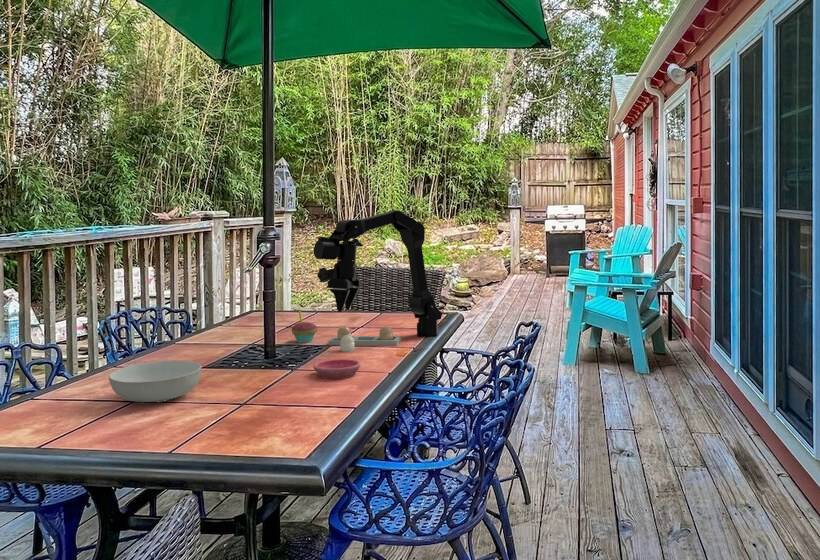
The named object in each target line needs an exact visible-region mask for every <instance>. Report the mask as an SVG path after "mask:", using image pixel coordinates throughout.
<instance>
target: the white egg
mask: <svg viewBox="0 0 820 560" xmlns="http://www.w3.org/2000/svg"><path fill="white" fill-rule="evenodd" d="M352 336H353V335H351V336H350V335H345V336H343V337H342V338H341V340H340V345H339V346H340V352H343V353H350V352H354V351H355V350H356V347H355V346H356V345H355V342H354V339H353V337H352Z"/></svg>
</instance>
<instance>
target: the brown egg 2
mask: <svg viewBox="0 0 820 560" xmlns="http://www.w3.org/2000/svg"><path fill="white" fill-rule="evenodd" d="M378 332H379V333H378V334H379V335H378V336H379V338H380V340H393V336H394V331H393V329H392V328H391V327H390V326H387V325H385V326H383V327H381V328H380V329H379V331H378Z"/></svg>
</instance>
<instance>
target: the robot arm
mask: <svg viewBox="0 0 820 560" xmlns="http://www.w3.org/2000/svg"><path fill="white" fill-rule="evenodd" d="M388 225H392V227H393V228H394V230H396V231H397V232H399V235H400V238H401V242H402V243H403V245H404V246H405V248H406V251H407V256H408V263H409V270H410V277H411V282H412V283H411V284H412V289H413V290H412V293H411V295H408V297H407V301H408V304H409V305H408V308H410V311H411V312H412V313H413V315H414V318H415V319H418V321H417V323H416V336H417V337H419V338H437V337H438V335H439V331H438V329H439V328H438V325H439V322H438V321H439V320H442V316H443V312H442V311H441V310H440V309H439V308H438V307H437V306H436V301H435V299H434V296H433V294H432V293H431V291H430V290H429V288H428V281H427V275H426V267H425V260H424V259H425V258H424V254H423V253H424V252H423V245H424V243H425V238H426V230H425V229H426V228H425V225H424V224H423V223H422V222H420V221H418V220H416V219H414V218H412V217H411V216H409V215H407V214H405V213H404V212H402V211H401V210H399V209H393V210H391V209H390V210H388V211H385V212H383V213H379V214H375V215H372V216H367V217H363V218H360V219H359V218H358V219H355V218H354V219H342V220H338V222H337V224H336V226H335V229H334V230H333V231H332V233H331V234H330V236H329V237H326V236H318V237H317V241H316V242H315V244H314V247H313V255H314V258H316V259H317V260H328V261H331V260H332V261H335V260H336V262H335V264H333V268H330V269H327V268H326V267H320V268H318V272H317V276H316V277H317V278H318V280H319V283H321V284H322V283H326V284H327V287H326V288H328V291H330V292H331V293H332V294H333V296H334V299H335V305H336V309H337V312H338V313H341V312H342V311H343V309H344V307H345V310H346V311H347V310H350V308H351V307H352V305H353V302H354V301H355V299H356V296H357V295H358V293H359V290H360V289H361V288H362V280H361V279H360V278H359V277H356V275H355V274H356V268H357V266H358V264H356V260H357V258H356V257H357V247H363V244H362V243H361V241H359V239H358V238H359V237H360V236H362V235H364V234H365V233H366V232H368V231H371V230H375V229H377V228H381V227H385V226H388Z"/></svg>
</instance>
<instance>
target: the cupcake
mask: <svg viewBox="0 0 820 560" xmlns="http://www.w3.org/2000/svg"><path fill="white" fill-rule="evenodd" d="M298 315H299V320H300V321H299V322H298V323H296V324H295V325H293V326H292V327H291V329H290V330H291V334H292V335H294V338H295V339H296V342H297V343H298V344H307V343H312V342H313V340H314V337H315V334H316V333H318V326H317V325H316V324H315V323H312V322H308V321H305V322H304V321H303V318H302V317H303V316H302V311H301V309H300V307H298Z"/></svg>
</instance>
